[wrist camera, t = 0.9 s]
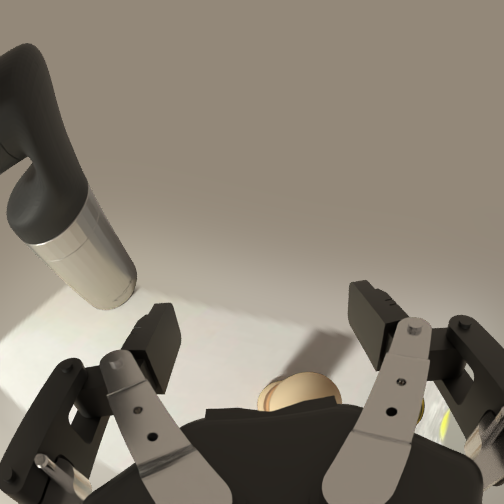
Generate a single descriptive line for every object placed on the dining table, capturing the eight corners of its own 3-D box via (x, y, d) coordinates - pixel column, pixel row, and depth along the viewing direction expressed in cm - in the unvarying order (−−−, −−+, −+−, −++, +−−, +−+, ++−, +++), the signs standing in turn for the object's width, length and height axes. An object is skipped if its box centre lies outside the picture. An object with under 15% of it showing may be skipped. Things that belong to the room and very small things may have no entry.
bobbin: (248, 413, 28) (256, 421, 18) (273, 372, 31) (293, 359, 21) (290, 434, 27) (320, 451, 17) (314, 394, 30) (353, 389, 20)
